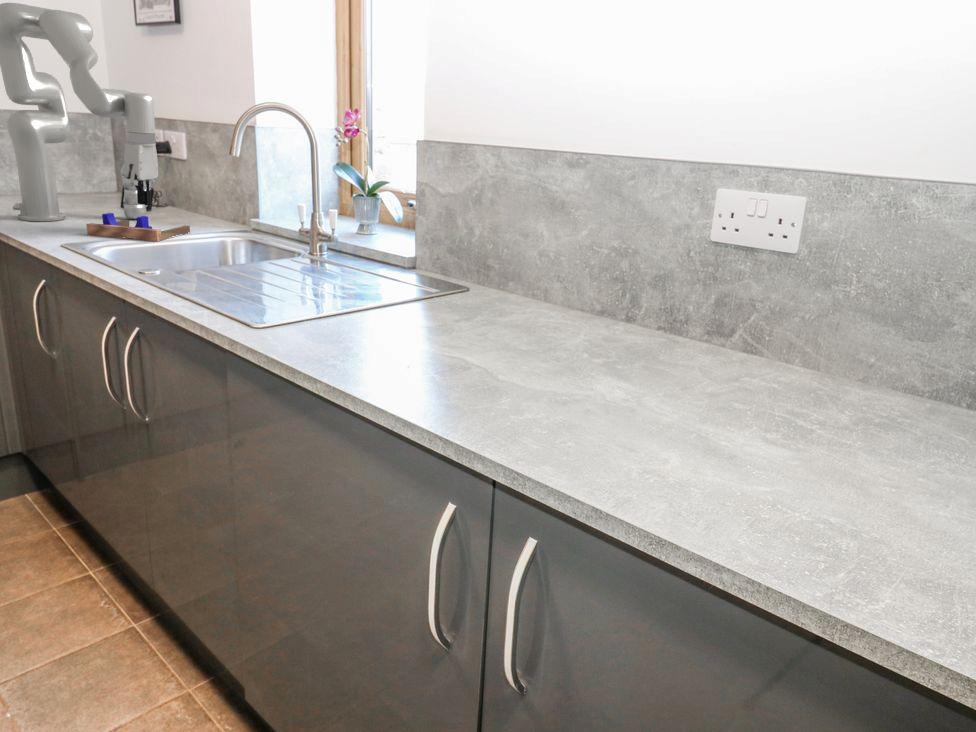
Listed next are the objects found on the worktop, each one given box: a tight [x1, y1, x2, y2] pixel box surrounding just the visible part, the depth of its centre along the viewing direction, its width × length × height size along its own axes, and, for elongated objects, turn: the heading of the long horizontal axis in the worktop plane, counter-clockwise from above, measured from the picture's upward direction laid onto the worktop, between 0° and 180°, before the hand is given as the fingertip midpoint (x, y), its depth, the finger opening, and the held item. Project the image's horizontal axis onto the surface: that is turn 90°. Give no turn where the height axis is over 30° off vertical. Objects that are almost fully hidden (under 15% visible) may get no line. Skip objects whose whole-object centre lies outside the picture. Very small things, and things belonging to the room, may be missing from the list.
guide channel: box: [85, 219, 191, 242], centre depth 214 cm, size 21×17×3 cm
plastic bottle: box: [120, 153, 148, 221], centre depth 235 cm, size 6×7×20 cm
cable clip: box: [101, 212, 153, 229], centre depth 210 cm, size 12×4×6 cm, turn 81°
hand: (144, 203), depth 217 cm, fingers closed
